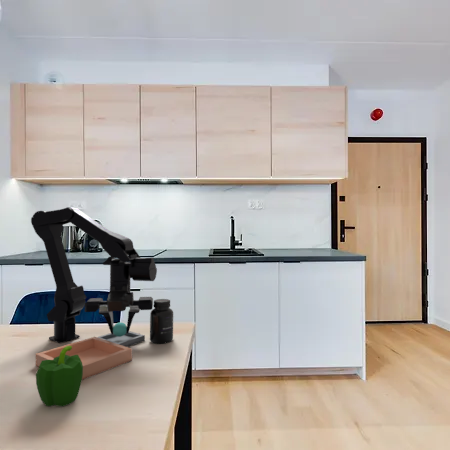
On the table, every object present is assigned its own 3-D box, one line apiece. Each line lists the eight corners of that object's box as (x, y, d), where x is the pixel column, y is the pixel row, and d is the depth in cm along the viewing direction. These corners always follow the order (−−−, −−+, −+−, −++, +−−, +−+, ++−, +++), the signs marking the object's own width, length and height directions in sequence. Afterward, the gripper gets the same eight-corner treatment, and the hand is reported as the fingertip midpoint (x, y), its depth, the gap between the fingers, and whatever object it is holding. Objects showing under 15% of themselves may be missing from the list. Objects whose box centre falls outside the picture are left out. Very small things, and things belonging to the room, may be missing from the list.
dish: (35, 366, 82) (35, 353, 82) (94, 347, 95) (94, 336, 95) (71, 384, 73) (71, 370, 73) (131, 360, 86) (131, 348, 86)
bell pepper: (52, 417, 60) (53, 361, 60) (27, 404, 64) (28, 352, 65) (93, 397, 67) (93, 347, 67) (68, 387, 72) (68, 339, 72)
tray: (94, 343, 99) (94, 337, 99) (123, 334, 107) (123, 329, 107) (116, 350, 93) (116, 344, 93) (144, 340, 101) (144, 335, 101)
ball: (109, 336, 99) (110, 323, 99) (121, 333, 102) (121, 320, 102) (118, 339, 97) (118, 325, 97) (129, 335, 100) (129, 322, 100)
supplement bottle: (168, 345, 97) (168, 303, 97) (145, 343, 98) (146, 302, 98) (176, 337, 104) (176, 298, 104) (155, 336, 105) (155, 297, 105)
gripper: (79, 285, 90) (79, 344, 90) (151, 284, 93) (151, 340, 93) (89, 279, 101) (89, 331, 101) (153, 278, 104) (152, 328, 104)
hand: (119, 333), depth 100 cm, fingers closed on ball, 4 cm apart
